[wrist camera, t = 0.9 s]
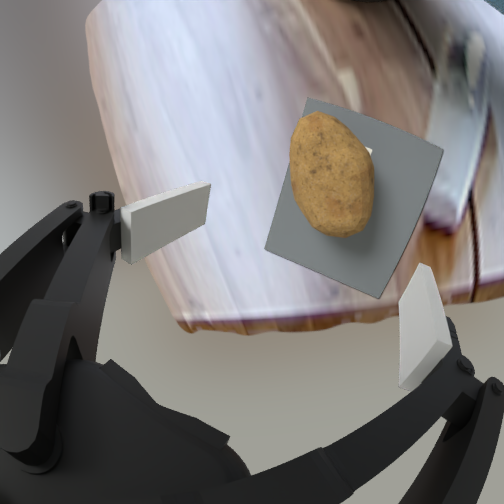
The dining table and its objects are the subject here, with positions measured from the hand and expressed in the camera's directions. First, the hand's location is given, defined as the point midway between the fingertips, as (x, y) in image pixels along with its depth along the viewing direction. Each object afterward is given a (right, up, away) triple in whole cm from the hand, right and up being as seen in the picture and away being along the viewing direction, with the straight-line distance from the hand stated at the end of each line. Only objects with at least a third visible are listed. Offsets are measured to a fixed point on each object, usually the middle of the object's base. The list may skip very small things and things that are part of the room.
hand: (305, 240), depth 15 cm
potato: (+7, +9, +17) cm, 21 cm away
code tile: (+9, +6, +18) cm, 21 cm away
